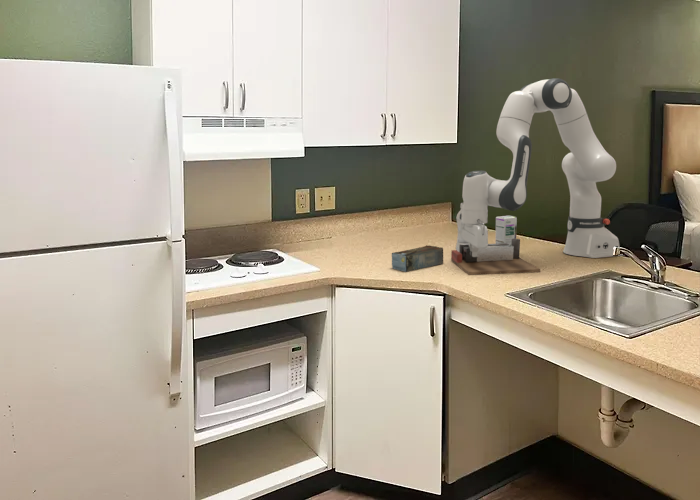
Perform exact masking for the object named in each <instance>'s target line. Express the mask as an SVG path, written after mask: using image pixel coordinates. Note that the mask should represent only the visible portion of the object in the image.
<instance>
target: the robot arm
mask: <svg viewBox="0 0 700 500" xmlns="http://www.w3.org/2000/svg"><path fill="white" fill-rule="evenodd" d="M547 111H549V112H551V113H552V114H553V118H554V122H555V124H556V126H557V131H558V132H559V136H560V138H561V141H562V143H563V145H564V146H565V147H566V148H568V150H569V151H570V152H568V153H567V154H565V156H564V157H563V159H562V161H561V169H562V171H563V173H564V175H565V177H566V180H567V185H568V189H569V196H570V197H569V198H570V199H569V200H570V201H569V216H568V219H567V235H566V241H565V244H564V248H563V251H562V252H563V253H564V254H566V255H570V256H576V257H585V258H591V259H598V258H608V257H614V256H613V247H614V246H618V247H619V248H620V241H619V238H618V236H616V235H615V234H614V233H612V232H611V231H610V230H609V229H607V227H605V225H610V224H611V221H610V219H609V218H603V217H601V211H602V196H601V194H600V192H599V190H598V187H597V183H599V182H605V181H608V180H610V179H611V178H612V177H614V175H615V173H616V171H617V162H616V160H615V159H614V157H613V156H612V155H611V154H609V152H607V150H605V148H604V147H603V145H602V144H601V142H600V140H599V138H598V137H597V135H596V134H595V132H594V130H593V127H592V124H591V121H590V119H589V116H588V115H589V114H588V113H587V110H586V108H585V105H584V103H583V101H582V99H581V97H580V95H579V93H578V92H577V90H575V89H574V88H571V87H570V85H569V83H568V82H567V81H566V80H564V79H562V78H555V77H554V78H553V77H552V78H549V79H541V80H539V81H535V82H533V83H532V82H531V83H528V84H525V85H524V86H522V88H520V90H516V91H513V92H511V93H510V94H509V95H508V97H507V98H506V101H505V102H504V105H503V107H502V109H501V112H500V115H499V119H498V122H497V125H496V134H495V135H496V137H497V140H498V141H499V142H500V144H502V146H505V147H506V148H508V149H509V150H510V151H511V152H512V156H513V159H512V164H511V165H512V166H511V170H510V177H509V178H508V179H507V180H503V179H502V180H501V179H496V178H494V177H492V176H491V175H489V174H488V173H487V171H486V170H472V171H469V172H467V173H466V174H465V176H464V178H463V182H462V195H461V196H462V197H461V198H462V200H463V202H462V203H463V207H462V213H460V214H459V219H460V220H461V222H460V227H461V237H462V239H464V240H465V241H467V242H468V243H469V248H470V255H471V256H472V257H477V252H478V249H482V248H487V246H488V244H489V233H488V232H489V231H488V227H487V226H486V225H485V224H488V217H489V216H488V212H489V210H488V207H494V208H500V209H504V210H507V211H510V212H511V211H512V212H514V211H517V210H519V209H520V208H522V206H523V205H524V204H525V203H526V201H527V196H528V187H527V186H528V179H529V178H528V176H529V170H530V165H531V164H530V163H531V159H532V150H533V149H532V148H533V144H532V140H531V138H530V127H531V124H532V120H533V116H534V114H536V113H538V114H539V113H546V112H547ZM619 256H620V257H621V256H624V255H623V254H620V255H618V256H617V257H619Z"/></svg>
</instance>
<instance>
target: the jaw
mask: <svg viewBox="0 0 700 500" xmlns="http://www.w3.org/2000/svg"><path fill="white" fill-rule="evenodd" d="M513 250H514V246H512V245H502V246H487V248H482V249H478V252H477V257H472V256H471V255H470V248H469V247H464V252H463V261H465V262H480V261H501V260H513Z"/></svg>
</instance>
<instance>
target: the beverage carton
mask: <svg viewBox="0 0 700 500" xmlns="http://www.w3.org/2000/svg"><path fill="white" fill-rule="evenodd" d="M443 264H444V248H443V247H440V246H435V245H424V246H419V247H416V248H412V249H406V250H405V249H404V250H401V251H395V252H392V253H391V268H392V269H394V270H397V271H401V272H405V273H407V272H412V271H417V270H421V269H425V268H429V267H433V266H438V265H443Z"/></svg>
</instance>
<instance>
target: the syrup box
mask: <svg viewBox="0 0 700 500" xmlns="http://www.w3.org/2000/svg"><path fill="white" fill-rule="evenodd" d="M517 220H518V219H517V216H515V215H502V216H496V217H495V242H494V244H498V243H507V244H509V245H511V243H512V239H517V225H518V224H517V223H518V221H517Z"/></svg>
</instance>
